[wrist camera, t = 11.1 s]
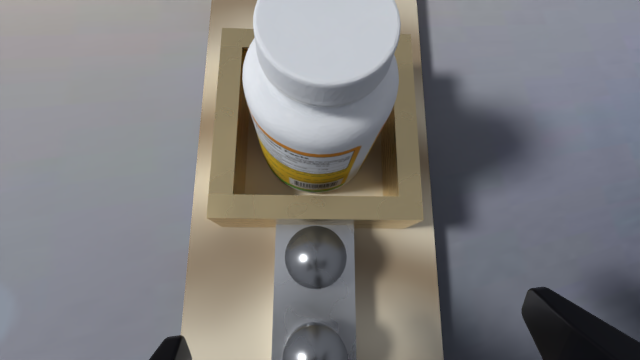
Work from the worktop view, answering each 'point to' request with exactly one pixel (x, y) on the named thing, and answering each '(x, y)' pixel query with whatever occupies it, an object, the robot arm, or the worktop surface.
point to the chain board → (259, 243)
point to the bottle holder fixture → (312, 213)
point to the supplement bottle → (321, 86)
